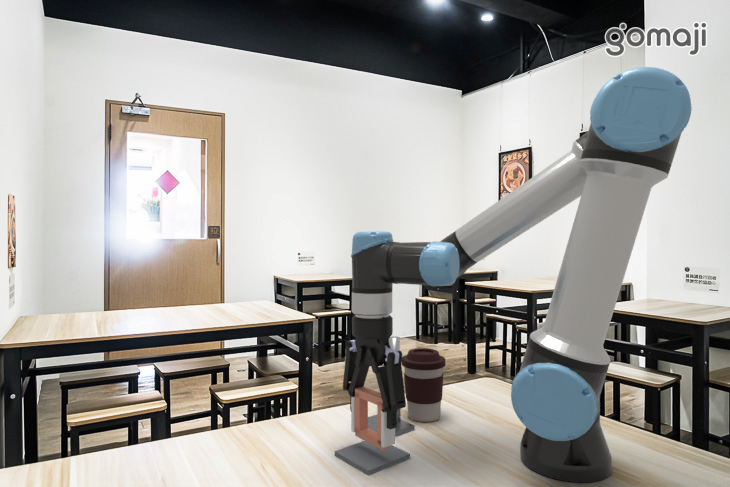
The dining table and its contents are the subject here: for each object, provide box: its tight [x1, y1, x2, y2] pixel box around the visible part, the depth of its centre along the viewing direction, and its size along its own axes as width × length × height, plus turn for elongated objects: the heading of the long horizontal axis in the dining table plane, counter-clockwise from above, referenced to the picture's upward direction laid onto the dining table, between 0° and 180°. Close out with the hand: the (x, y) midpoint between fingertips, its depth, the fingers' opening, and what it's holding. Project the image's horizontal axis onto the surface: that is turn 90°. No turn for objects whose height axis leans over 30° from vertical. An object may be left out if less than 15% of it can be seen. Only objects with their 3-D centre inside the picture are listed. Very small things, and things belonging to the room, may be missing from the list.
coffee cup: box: [401, 347, 446, 423], centre depth 109 cm, size 10×10×15 cm
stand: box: [344, 335, 415, 438], centre depth 101 cm, size 10×14×19 cm
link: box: [354, 386, 391, 450], centre depth 89 cm, size 8×2×9 cm, turn 39°
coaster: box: [334, 440, 411, 476], centre depth 89 cm, size 10×10×1 cm
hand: (372, 437), depth 89 cm, fingers closed on link, 8 cm apart
